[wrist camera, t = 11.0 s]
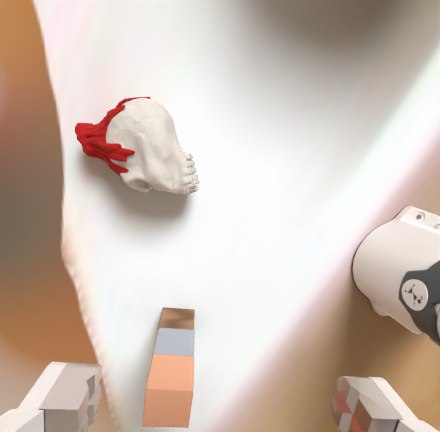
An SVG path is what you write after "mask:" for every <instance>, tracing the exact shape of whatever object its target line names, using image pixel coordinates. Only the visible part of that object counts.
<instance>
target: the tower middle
mask: <svg viewBox="0 0 440 432" xmlns="http://www.w3.org/2000/svg"><path fill="white" fill-rule="evenodd" d="M153 354H165V355H182V356H194V330H186V329H172V328H159V331H158V335H157V340H156V344H155V349H154V353H153Z"/></svg>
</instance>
